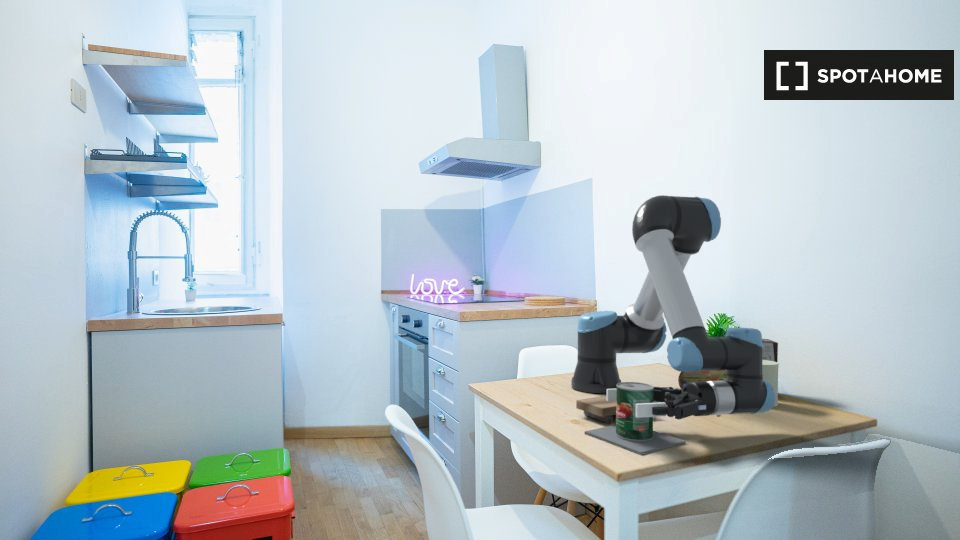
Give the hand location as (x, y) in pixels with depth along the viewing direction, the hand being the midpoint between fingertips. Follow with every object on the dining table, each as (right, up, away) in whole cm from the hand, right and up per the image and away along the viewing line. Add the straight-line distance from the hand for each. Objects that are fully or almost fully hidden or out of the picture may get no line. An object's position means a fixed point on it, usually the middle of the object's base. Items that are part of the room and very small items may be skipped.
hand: (620, 402), depth 120 cm
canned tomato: (+3, -8, +1) cm, 8 cm away
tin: (+36, -8, +43) cm, 56 cm away
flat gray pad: (+3, -8, +1) cm, 9 cm away
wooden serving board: (+3, -8, +18) cm, 20 cm away
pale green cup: (+47, -9, +34) cm, 59 cm away
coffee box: (+53, -8, +45) cm, 70 cm away
